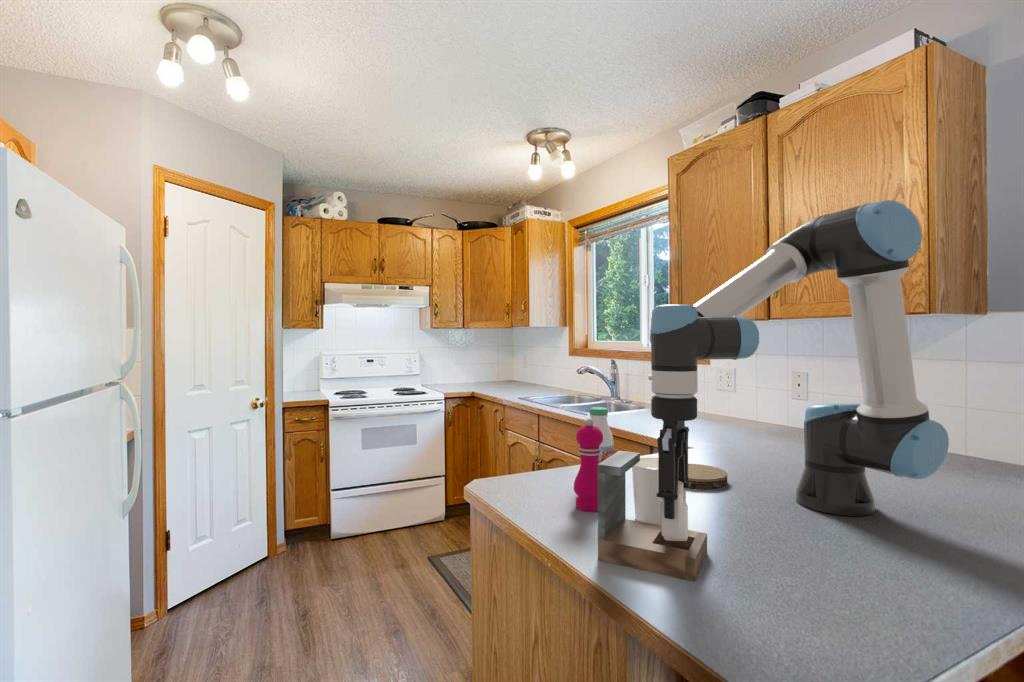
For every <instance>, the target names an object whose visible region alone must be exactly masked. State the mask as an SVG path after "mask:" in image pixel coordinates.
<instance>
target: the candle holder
mask: <svg viewBox="0 0 1024 682" xmlns="http://www.w3.org/2000/svg"><path fill="white" fill-rule="evenodd" d="M631 469H632V485H633V489H632V490H633V504H634V515H635V516H634V519H635V521H639V522H645V523H651V524H656V525H660V500H661V499H662V498H660V497H657V493H658V491H659V464H658V457H640V461H639V462H638V463H637V464H635V465H634V466H633V467H631Z"/></svg>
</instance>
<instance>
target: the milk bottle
mask: <svg viewBox="0 0 1024 682" xmlns="http://www.w3.org/2000/svg"><path fill="white" fill-rule="evenodd" d="M608 414H609V410H608V408H607V407H603V406H594V407H590V408H589V417H590V419H592V420H593V422H594V424H593V426H596V427H598V428H599V429H600V430H601V431H602V434H603V441H602V443H601V444H600V446H599V447H600V448H601V450H600V452H601V454H600V455H599V459H598V461H599V463H601V462H602V461H604V460H605V459H607V458H609V457H610V456H612V455H613V454H615V443H614V438H613V437H614V436H613V433H612V431H611V428H610V427H609V424H608V420H607V419H608Z"/></svg>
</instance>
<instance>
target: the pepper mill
mask: <svg viewBox="0 0 1024 682" xmlns="http://www.w3.org/2000/svg"><path fill="white" fill-rule="evenodd" d="M593 424H594V422H593V420H592V419H591V418H586V420H585V425H582V426H581V427H579V429H578V430H577V431H576V435H575V440H576V442H577V444H578V445H579V446H578V448H577V449H578V454H579V455H580V456H579V457H580V465H579V470H578V472H577V474H576V476H575V479H574V482H573V491H574V493H575V494H576V495H577V497H576V498H575V507H576V509H578V510H580V511H583V512H591V513H592V512H593V513H594V512H598V464H599V461H598V459H599V455H600V454H601V452H600V450H601V448H600V447H599V446H600V444H601V443H602V441H603V434H602V431H601V430H600V429H599V428H598V427H596V426H593Z"/></svg>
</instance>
